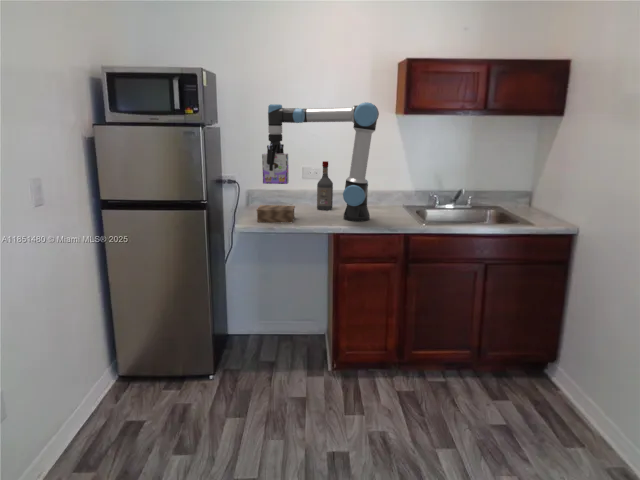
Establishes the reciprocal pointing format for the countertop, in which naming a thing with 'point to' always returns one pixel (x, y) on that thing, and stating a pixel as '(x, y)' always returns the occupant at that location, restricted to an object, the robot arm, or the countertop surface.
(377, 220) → the countertop surface
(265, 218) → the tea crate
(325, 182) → the liquor
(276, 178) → the candy box
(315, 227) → the countertop surface
